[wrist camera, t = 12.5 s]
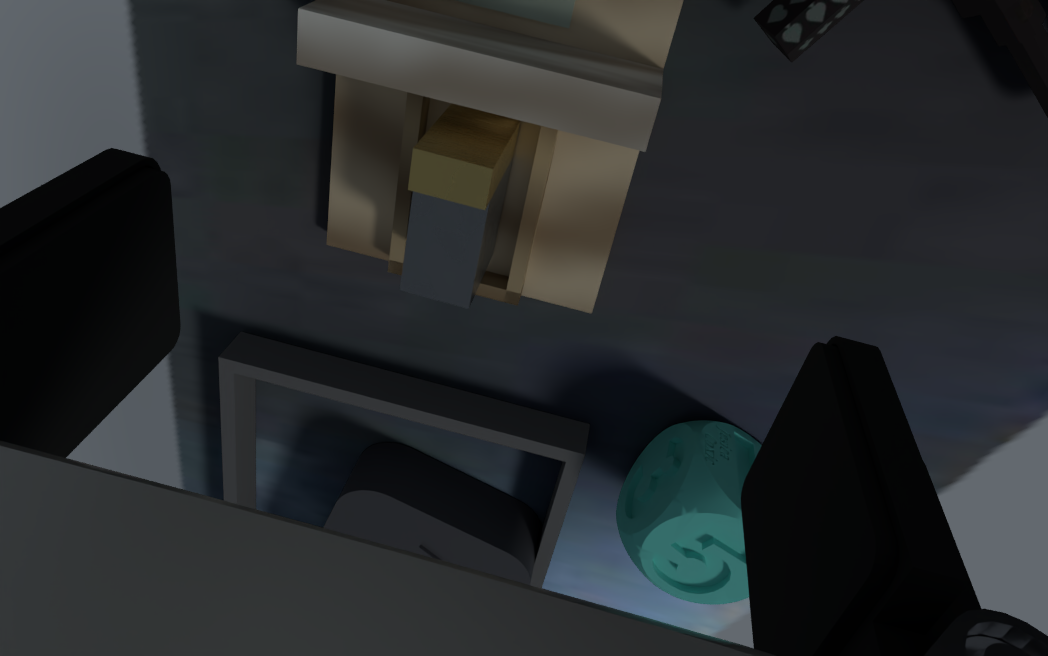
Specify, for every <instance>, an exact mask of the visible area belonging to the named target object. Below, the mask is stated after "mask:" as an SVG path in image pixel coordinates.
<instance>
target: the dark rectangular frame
mask: <svg viewBox="0 0 1048 656" xmlns="http://www.w3.org/2000/svg"><path fill="white" fill-rule="evenodd" d="M218 359H219V386H220V412H221V438H222V465H223V491H224V501H227V502H231V503H234V504H238V505H242V506H245V507H249V508H253V509H256V409H255V379H258V380H261V381H265V382H269V383H272V384H276V385H280V386H284V387H287V388H291V389H295V390H299V391H302V392H306V393H310V394H314V395H317V396H321V397H325V398H329V399H332V400H336V401H340V402H344V403H347V404H351V405H355V406H358V407H362V408H366V409H370V410H373V411H377V412H381V413H385V414H388V415H392V416H396V417H400V418H403V419H407V420H411V421H415V422H418V423H422V424H426V425H430V426H433V427H437V428H441V429H445V430H448V431H452V432H456V433H459V434H463V435H467V436H471V437H474V438H478V439H482V440H486V441H489V442H493V443H497V444H501V445H504V446H508V447H512V448H516V449H519V450H523V451H527V452H531V453H534V454H538V455H542V456H546V457H549V458H553V459H557V460H560V461H562V465H561V468H560V471H559V474H558V478H557V481H556V484H555V487H554V491H553V494H552V497H551V500H550V504H549V507H548V510H547V513H546V517H545V520H544V523H543V526H542V530H541V533H540V538H539V543H538V548H537V553H536V558H535V563H534V568H533V573H532V578H531V583H530V585H531V586H535V587H539V588H542V585H543V582H544V579H545V576H546V573H547V570H548V567H549V564H550V561H551V557H552V554H553V551H554V548H555V545H556V542H557V539H558V536H559V533H560V530H561V527H562V524H563V521H564V518H565V515H566V512H567V509H568V506H569V503H570V500H571V497H572V494H573V491H574V487H575V484H576V481H577V478H578V475H579V472H580V469H581V466H582V463H583V460H584V457H585V453H586V447H587V440H588V434H589V427H590V424H587V423H584V422H580V421H576V420H572V419H568V418H565V417H561V416H557V415H553V414H550V413H546V412H542V411H538V410H535V409H531V408H527V407H523V406H519V405H516V404H512V403H508V402H504V401H501V400H497V399H493V398H489V397H486V396H482V395H478V394H474V393H470V392H467V391H463V390H459V389H455V388H452V387H448V386H444V385H440V384H437V383H433V382H429V381H425V380H421V379H418V378H414V377H410V376H406V375H403V374H399V373H395V372H391V371H388V370H384V369H380V368H376V367H372V366H369V365H365V364H361V363H357V362H354V361H350V360H346V359H342V358H339V357H335V356H331V355H327V354H323V353H320V352H316V351H312V350H308V349H305V348H301V347H297V346H293V345H290V344H286V343H282V342H278V341H274V340H271V339H267V338H263V337H259V336H256V335H252V334H248V333H244V332H240V333H239V334H238V335H237V337H236V338H235V339H234V340H233V341H232V342H231V343H230V344H229V346H228V347H227V348H226V349H225V350H224V351H223V352H222V353H221V355H220V356H219V357H218Z"/></svg>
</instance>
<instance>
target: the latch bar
mask: <svg viewBox="0 0 1048 656" xmlns="http://www.w3.org/2000/svg"><path fill="white" fill-rule="evenodd" d="M520 122H521V121H520V120H516V119H512V118H508V117H504V116H500V115H496V114H492V113H488V112H484V111H481V110H477V109H473V108H469V107H465V106H461V105H457V104H453V103H451V105H450V106H449V107H448V108H447V109H446V110H445V111H444V113H443V114H442V115H441V116H440V117H439V118H438V120H437V121H436V122H435V123H434V124H433V125H432V127H431V128H430V129H429V130H428V131H427V132H426V134H425V135H424V136H423V137H422V138H421V139H420V141H419V142H418V143H417V144H416V145H415V146H414V148H413V153H412V161H411V168H410V176H409V184H408V190H410V191H413V194H412V202H411V209H410V217H409V224H408V232H407V240H406V247H405V255H404V262H403V270H402V277H401V285H400V291H404V292H407V293H411V294H415V295H419V296H422V297H426V298H430V299H433V300H437V301H441V302H445V303H448V304H452V305H456V306H459V307H463V308H467V309H469V307H470V305H471V303H472V301H473V298H474V296H475V294H476V292H477V289H478V287H479V285H480V283H481V281H482V278H483V276H484V274H485V272H486V269H487V267H488V265H489V263H490V260H491V258H492V256H493V252H494V248H495V243H496V238H497V233H498V228H499V223H500V219H501V214H502V209H503V204H504V199H505V194H506V190H507V185H508V180H509V175H510V170H511V165H512V161H513V156H514V151H515V146H516V141H517V136H518V132H519V127H520Z"/></svg>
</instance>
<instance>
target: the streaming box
mask: <svg viewBox="0 0 1048 656" xmlns="http://www.w3.org/2000/svg"><path fill="white" fill-rule="evenodd" d="M323 528H326V529H330V530H333V531H337V532H340V533H344V534H348V535H351V536H355V537H359V538H362V539H366V540H369V541H373V542H377V543H380V544H384V545H388V546H391V547H395V548H399V549H402V550H406V551H409V552H413V553H417V554H420V555H424V556H428V557H431V558H435V559H438V560H442V561H446V562H449V563H453V564H456V565H460V566H464V567H467V568H471V569H474V570H478V571H481V572H485V573H489V574H492V575H496V576H499V577H503V578H506V579H510V580H514V581H517V582H521V583H524V584H528V585H530V583H531V578H532V573H533V568H534V563H535V558H536V553H537V548H538V543H539V538H540V533H541V525H540V522H539V519H538V517H537V516H536V514H535V513H534V512H533V511H532V510H531V509H530V508H529V507H528V506H527V505H525V504H524V503H522V502H520V501H518V500H516V499H514V498H512V497H510V496H508V495H506V494H504V493H502V492H500V491H498V490H496V489H494V488H492V487H490V486H488V485H486V484H484V483H482V482H480V481H478V480H475V479H473V478H471V477H469V476H467V475H465V474H463V473H461V472H459V471H457V470H455V469H453V468H451V467H449V466H447V465H445V464H443V463H441V462H439V461H437V460H435V459H433V458H430V457H428V456H426V455H424V454H422V453H420V452H418V451H416V450H414V449H412V448H410V447H407V446H405V445H401V444H397V443H379V444H375V445H372V446H370V447H368V448H367V449H366V450H365V451H364V452H363V453H362V454H361V456H360V457H359V459H358V461H357V463H356V465H355V467H354V469H353V471H352V473H351V475H350V477H349V479H348V481H347V482H346V484H345V486H344V488H343V490H342V492H341V494H340V496H339V498H338V500H337V502H336V504H335V506H334V508H333V509H332V511H331V513H330V515H329V517H328V519H327V521H326V523H325V525H324V527H323Z"/></svg>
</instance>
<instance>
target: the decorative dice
mask: <svg viewBox="0 0 1048 656" xmlns="http://www.w3.org/2000/svg"><path fill="white" fill-rule="evenodd" d="M761 446H762V445H761V444H760V443H759V442H757V441H756V440H755V439H754V438H752V437H751V436H750V435H748V434H747V433H745V432H744V431H742V430H741V429H739V428H737V427H735V426H733V425H730V424H727V423H723V422H717V421H708V420H698V421H688V422H683V423H679V424H675V425H673V426H670V427H669V428H667V429H665V430H664V431H662V432H661V433H660V434H658V435H657V436H656V437H655V438H654V439H653V440H652V441H651V442H650V443H649V444H648V445H647V447H646V448H645V449H644V450H643V451H642V453H641V454H640V455H639V457H638V458H637V460H636V461H635V463H634V465H633V466H632V468H631V470H630V472H629V473H628V475H627V477H626V479H625V482H624V484H623V487H622V489H621V492H620V495H619V499H618V503H617V510H616V520H617V525H618V530H619V534H620V537H621V540H622V542H623V545H624V547H625V549H626V551H627V553H628V555H629V556H630V558H631V559H632V561H633V562H634V564H635V565H636V566H637V568H638V569H639V570H640V571H641V572H642V573H643V574H644V576H645V577H646V578H648V579H649V580H650V581H651V582H652V583H653V584H654V585H656V586H657V587H658V588H660V589H661V590H663V591H665V592H667V593H668V594H670V595H672V596H675V597H677V598H680V599H682V600H686V601H689V602H694V603H700V604H726V603H732V602H736V601H740V600H743V599H746V598H748V597H749V588H748V577H747V566H746V555H745V544H744V533H743V522H742V511H741V492H742V487H743V484H744V480H745V478H746V476H747V474H748V472H749V470H750V468H751V466H752V464H753V462H754V460H755V458H756V456H757V454H758V452H759V450H760V448H761Z"/></svg>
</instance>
